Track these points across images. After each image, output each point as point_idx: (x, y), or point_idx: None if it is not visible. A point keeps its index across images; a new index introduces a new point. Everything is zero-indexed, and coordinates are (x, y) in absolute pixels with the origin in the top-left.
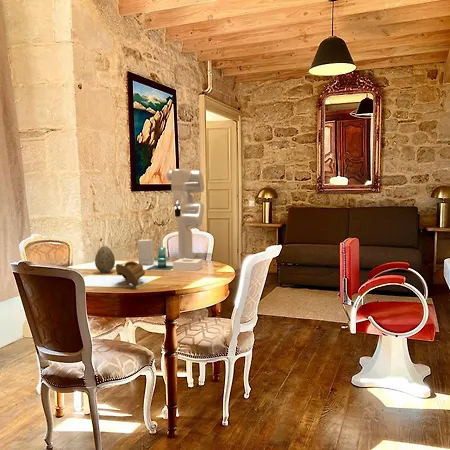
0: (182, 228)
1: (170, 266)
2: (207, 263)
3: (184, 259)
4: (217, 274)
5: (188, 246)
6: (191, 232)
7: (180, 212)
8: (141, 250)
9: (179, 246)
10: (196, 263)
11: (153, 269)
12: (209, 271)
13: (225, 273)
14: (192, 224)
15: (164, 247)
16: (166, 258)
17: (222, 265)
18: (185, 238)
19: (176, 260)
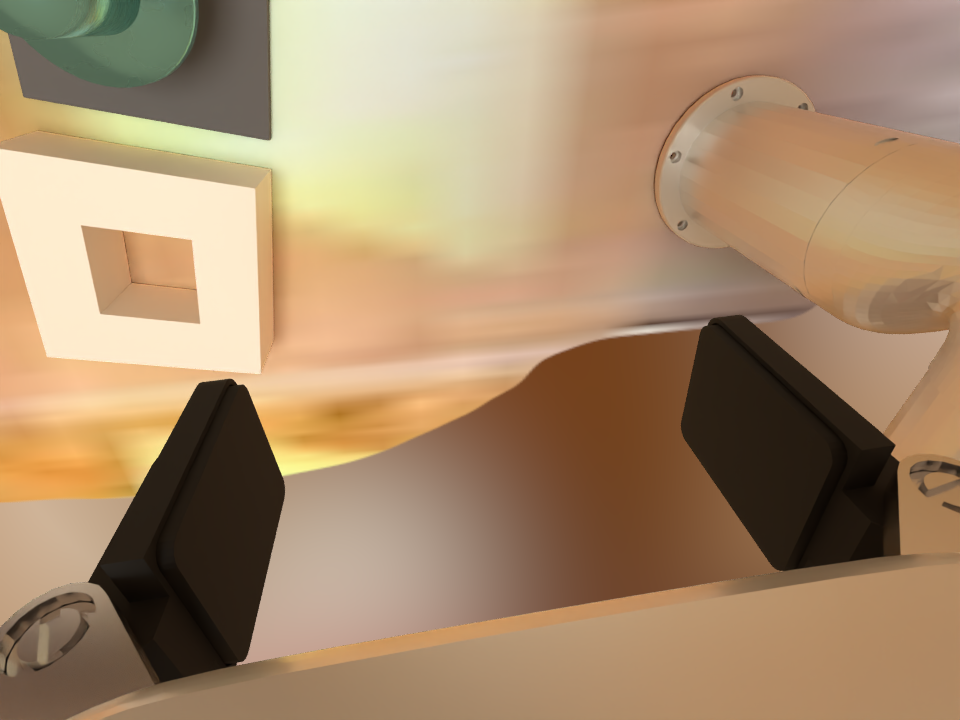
0: (914, 252)
1: (216, 80)
2: (459, 353)
3: (212, 239)
4: (27, 445)
5: (736, 238)
6: (872, 331)
7: (735, 504)
8: None
9: (783, 136)
10: (50, 353)
11: None
12: (122, 396)
13: (84, 477)
14: (900, 417)
15: (70, 15)
16: (54, 55)
17: (379, 440)
18: (790, 240)
19: (121, 169)
